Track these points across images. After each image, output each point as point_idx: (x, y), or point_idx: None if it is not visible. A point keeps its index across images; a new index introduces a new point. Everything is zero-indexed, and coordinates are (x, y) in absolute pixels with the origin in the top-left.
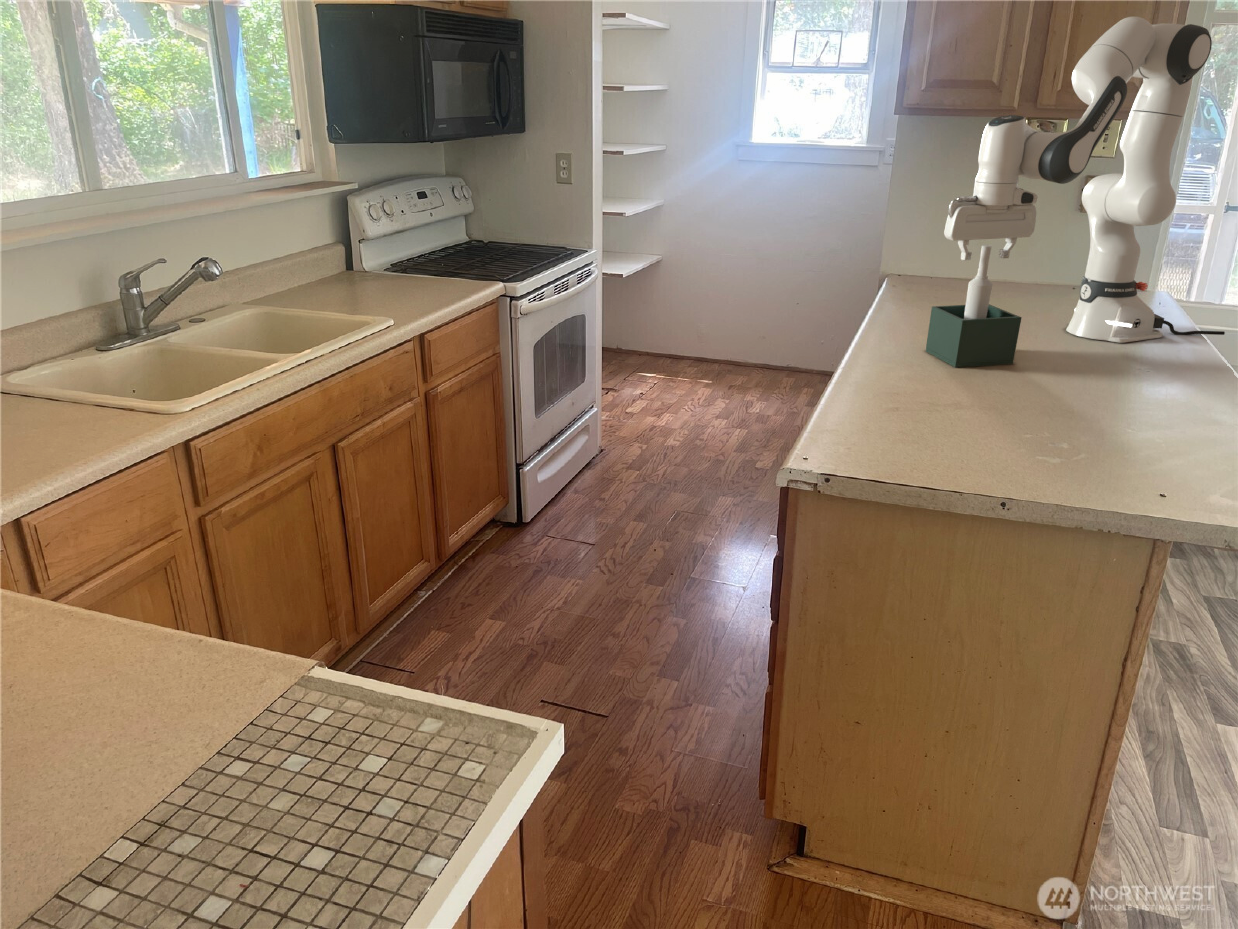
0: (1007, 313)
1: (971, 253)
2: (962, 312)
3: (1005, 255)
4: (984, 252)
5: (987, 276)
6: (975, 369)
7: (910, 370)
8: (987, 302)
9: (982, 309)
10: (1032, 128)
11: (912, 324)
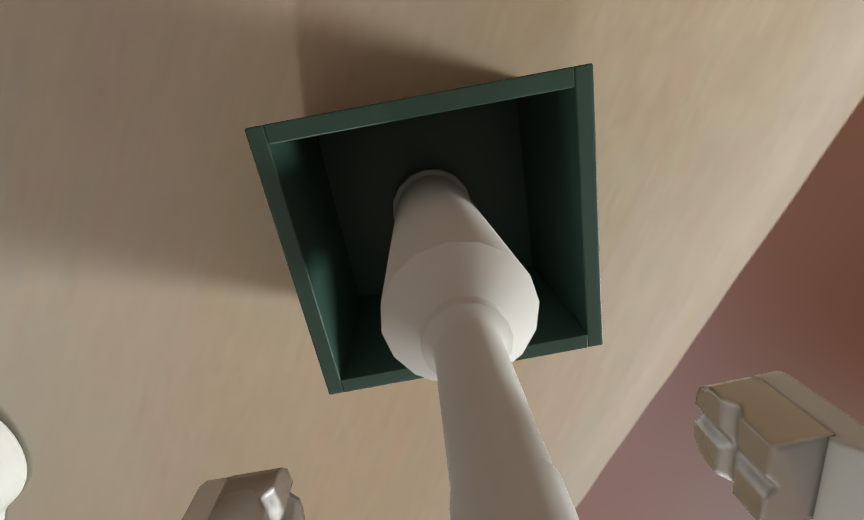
0: (293, 222)
1: (762, 434)
2: None
3: (244, 491)
4: (556, 485)
5: (428, 331)
6: (459, 56)
7: (686, 50)
8: (413, 223)
9: (436, 205)
10: None
11: None
